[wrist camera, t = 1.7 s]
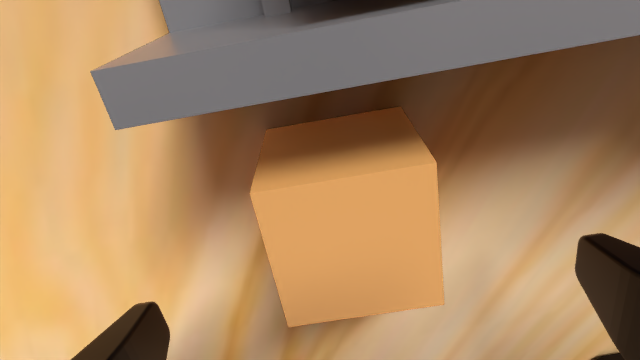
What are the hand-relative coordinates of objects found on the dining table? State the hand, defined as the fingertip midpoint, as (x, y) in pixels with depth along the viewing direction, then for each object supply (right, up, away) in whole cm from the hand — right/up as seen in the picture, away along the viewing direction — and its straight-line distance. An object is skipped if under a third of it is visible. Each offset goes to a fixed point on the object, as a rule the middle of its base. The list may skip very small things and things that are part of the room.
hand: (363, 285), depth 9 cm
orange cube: (0, +2, +4) cm, 5 cm away
